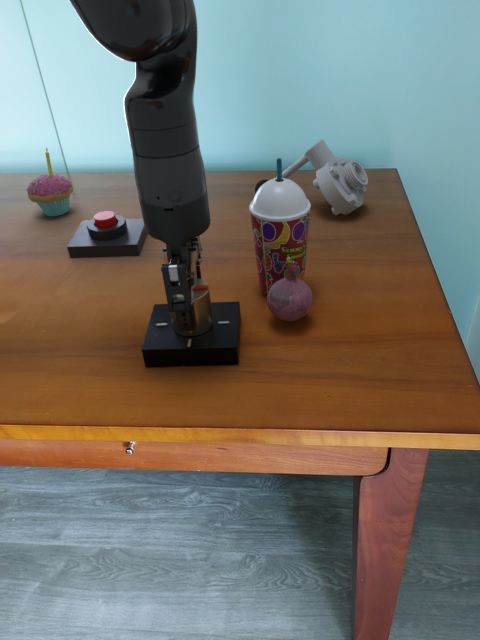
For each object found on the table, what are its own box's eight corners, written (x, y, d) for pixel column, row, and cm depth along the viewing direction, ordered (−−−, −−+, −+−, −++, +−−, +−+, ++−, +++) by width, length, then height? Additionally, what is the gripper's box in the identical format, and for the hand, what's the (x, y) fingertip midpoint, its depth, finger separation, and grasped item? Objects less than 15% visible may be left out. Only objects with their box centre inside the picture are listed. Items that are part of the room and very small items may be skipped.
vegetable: (317, 313, 75) (320, 251, 69) (303, 338, 71) (303, 275, 65) (278, 305, 77) (277, 244, 71) (261, 329, 73) (258, 266, 67)
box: (70, 258, 90) (63, 237, 88) (85, 231, 98) (79, 211, 96) (139, 255, 90) (135, 234, 88) (149, 228, 98) (145, 208, 95)
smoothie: (293, 311, 76) (293, 175, 63) (244, 297, 79) (234, 165, 66) (317, 282, 81) (322, 153, 69) (270, 270, 85) (266, 144, 72)
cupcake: (56, 199, 110) (38, 141, 102) (88, 206, 107) (71, 146, 99) (25, 217, 104) (4, 156, 96) (58, 224, 101) (38, 161, 93)
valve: (304, 238, 112) (261, 179, 109) (381, 187, 100) (336, 119, 96) (287, 258, 105) (240, 195, 101) (368, 205, 92) (318, 132, 89)
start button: (93, 229, 90) (91, 220, 89) (98, 220, 93) (96, 211, 92) (114, 229, 90) (112, 219, 89) (119, 219, 93) (116, 210, 92)
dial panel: (145, 367, 68) (140, 348, 66) (157, 321, 75) (153, 302, 73) (238, 364, 67) (236, 345, 65) (240, 318, 75) (239, 300, 73)
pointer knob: (169, 337, 67) (162, 299, 64) (175, 312, 72) (168, 276, 68) (211, 335, 67) (207, 298, 64) (214, 311, 71) (210, 274, 68)
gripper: (149, 166, 63) (170, 281, 74) (125, 219, 52) (154, 345, 63) (211, 163, 63) (223, 279, 73) (200, 215, 52) (216, 343, 62)
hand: (191, 309), depth 68 cm, fingers open, 8 cm apart
